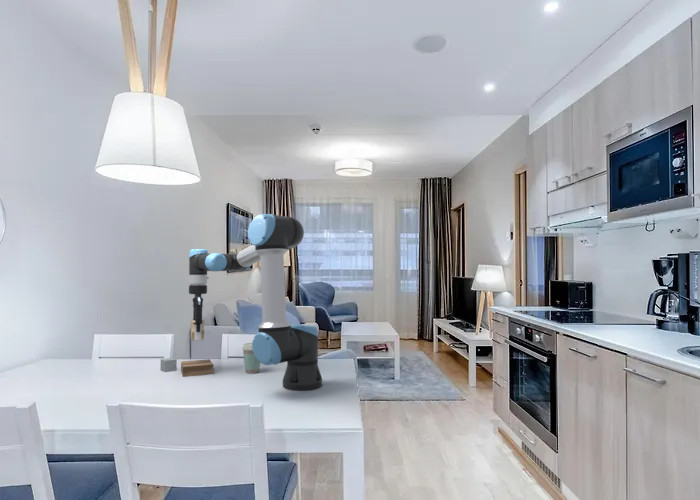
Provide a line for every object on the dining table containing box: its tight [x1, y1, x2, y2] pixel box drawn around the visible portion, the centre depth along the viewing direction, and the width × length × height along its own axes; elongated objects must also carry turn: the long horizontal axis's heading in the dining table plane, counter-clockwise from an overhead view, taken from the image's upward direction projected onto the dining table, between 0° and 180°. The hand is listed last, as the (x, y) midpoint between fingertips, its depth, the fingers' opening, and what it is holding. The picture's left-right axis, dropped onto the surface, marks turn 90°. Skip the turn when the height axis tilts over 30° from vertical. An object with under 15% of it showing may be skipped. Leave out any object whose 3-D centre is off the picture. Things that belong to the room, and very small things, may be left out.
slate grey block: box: [160, 357, 178, 373], centre depth 197 cm, size 5×5×5 cm
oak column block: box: [190, 319, 205, 341], centre depth 194 cm, size 5×5×8 cm
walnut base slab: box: [180, 359, 214, 378], centre depth 193 cm, size 12×12×4 cm
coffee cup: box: [242, 342, 261, 374], centre depth 194 cm, size 8×8×12 cm
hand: (197, 338), depth 193 cm, fingers closed on oak column block, 5 cm apart
